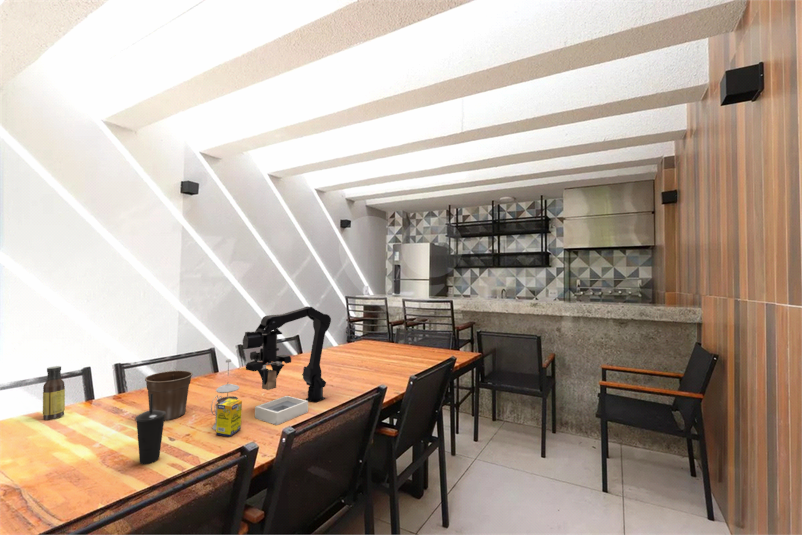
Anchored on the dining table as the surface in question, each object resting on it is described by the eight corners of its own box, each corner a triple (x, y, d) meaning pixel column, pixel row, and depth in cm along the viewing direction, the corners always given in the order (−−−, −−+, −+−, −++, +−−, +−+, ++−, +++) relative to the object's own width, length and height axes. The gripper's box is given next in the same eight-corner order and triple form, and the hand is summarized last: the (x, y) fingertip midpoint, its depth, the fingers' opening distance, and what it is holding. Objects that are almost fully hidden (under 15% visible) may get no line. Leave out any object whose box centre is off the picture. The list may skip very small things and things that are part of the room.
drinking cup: (144, 454, 111) (146, 390, 112) (169, 453, 112) (171, 389, 112) (127, 467, 103) (130, 398, 104) (155, 466, 104) (157, 397, 105)
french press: (246, 422, 137) (248, 357, 138) (222, 434, 126) (224, 363, 127) (226, 418, 140) (228, 355, 141) (201, 430, 129) (203, 361, 130)
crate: (286, 406, 154) (286, 395, 155) (307, 411, 148) (308, 401, 148) (254, 418, 141) (255, 406, 141) (276, 425, 134) (277, 413, 134)
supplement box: (230, 437, 124) (231, 406, 123) (215, 434, 125) (216, 404, 125) (241, 429, 129) (242, 400, 129) (227, 427, 131) (228, 397, 130)
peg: (270, 386, 151) (270, 369, 151) (276, 387, 149) (276, 370, 149) (262, 388, 148) (262, 371, 148) (268, 390, 145) (268, 373, 146)
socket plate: (286, 405, 153) (286, 400, 153) (305, 410, 148) (305, 405, 148) (257, 415, 141) (258, 411, 141) (277, 421, 135) (277, 417, 135)
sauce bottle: (67, 413, 144) (69, 364, 144) (59, 419, 138) (61, 368, 139) (47, 415, 142) (49, 365, 142) (37, 421, 136) (40, 369, 136)
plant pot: (197, 415, 143) (198, 375, 143) (149, 427, 131) (150, 383, 132) (184, 405, 154) (185, 368, 155) (139, 415, 142) (140, 375, 143)
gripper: (275, 340, 161) (275, 375, 160) (237, 347, 145) (237, 385, 145) (292, 343, 155) (291, 379, 154) (254, 350, 139) (254, 390, 139)
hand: (269, 383), depth 148 cm, fingers closed on peg, 4 cm apart
